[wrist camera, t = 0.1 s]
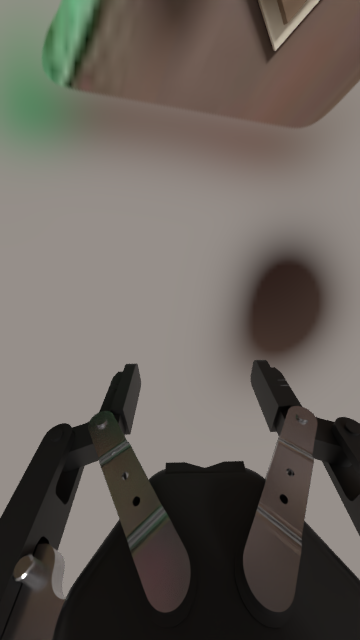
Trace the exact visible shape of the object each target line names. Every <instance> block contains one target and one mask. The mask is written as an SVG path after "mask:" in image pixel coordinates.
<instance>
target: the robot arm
mask: <svg viewBox="0 0 360 640" xmlns="http://www.w3.org/2000/svg"><path fill="white" fill-rule="evenodd" d="M251 384H252V387H253V390H254V392H255V395H256V397H257V400H258V402H259V405H260V407H261V410H262V412H263V415H264V417H265V419H266V422H267V424H268V427H269V429H270V432H277V433H278V435H279V438H278V441H277V444H276V447H275V450H274V453H273V456H272V460H271V463H270V465H269V468H268V472H267V474H266V477H265V479H264V478H263V477H262V476H260V475H259V474H258V473H256V472H254V471H252V470H250V469H247V468H245V466H244V462H243V461H235V462H222V463H219V464H216V465H213V466H210V467H207V468H203V467H199V466H195V465H192V464H188V463H185V462H184V463H166V469H164V470H162V471H160V472H158V473H156V474H155V475H153V476H152V477H151V478H150V479H149V480H148V478H147V476H146V474H145V472H144V470H143V468H142V466H141V464H140V462H139V461H138V459H137V457H136V455H135V453H134V451H133V449H132V447H131V445H130V444H129V442H127V440H126V438H125V436H124V435H125V434H130V433H131V428H132V424H133V419H134V415H135V410H136V406H137V401H138V397H139V392H140V387H141V379H140V374H139V369H138V365H137V364H126V365H125V368H124V371H123V372H118V373H117V374H116V375H115V376H114V377H113V379H112V381H111V385H110V387H109V389H108V392H107V394H106V397H105V399H104V402H103V404H102V407H101V409H100V412H99V413H97V414H96V415H95V416H93V417H92V418H91V420H90V421H89V422H88V423H85V424H83V425H79V426H76V427H73V428H72V427H71V426H70V425H69V424H66V423H64V424H59V425H57V426H55V427H53V428H52V429H50V430H49V431H48V432H47V433H46V435H45V436H44V438H43V440H42V442H41V444H40V445H39V447H38V449H37V451H36V453H35V455H34V457H33V458H32V460H31V462H30V464H29V466H28V468H27V470H26V471H25V473H24V475H23V477H22V479H21V481H20V483H19V485H18V486H17V488H16V490H15V492H14V494H13V496H12V497H11V500H10V501H9V503H8V505H7V507H6V509H5V511H4V512H3V514H2V516H1V518H0V640H360V580H359V579H358V578H357V577H356V576H355V574H354V573H353V572H352V571H351V570H350V569H349V568H348V567H347V566H346V565H345V564H344V563H343V562H342V561H341V559H340V558H339V557H338V556H337V555H336V554H335V553H334V552H333V551H332V550H331V549H330V548H329V547H328V545H327V544H326V543H325V542H324V541H323V540H322V539H321V538H320V537H319V536H318V535H317V534H316V533H315V532H314V531H313V529H311V527H310V526H309V525H308V524H307V523H306V522H305V521H304V519H305V513H306V506H307V500H308V494H309V488H310V481H311V475H312V469H313V463H314V458H315V459H318V460H321V461H322V462H323V464H324V466H325V468H326V470H327V472H328V474H329V476H330V478H331V480H332V482H333V484H334V486H335V488H336V490H337V492H338V494H339V496H340V498H341V500H342V502H343V504H344V506H345V508H346V510H347V512H348V514H349V516H350V517H351V520H352V522H353V523H354V526H355V527H356V530H357V531H358V533H359V535H360V424H359V423H358V422H356V421H354V420H352V419H350V418H346V417H340V418H337V419H336V421H335V422H332V421H328V420H324V419H320V418H317V417H315V416H314V414H313V413H312V412H310V411H309V410H308V409H306V408H303V407H302V406H301V404H300V402H299V401H298V399H297V398H296V396H295V394H294V393H293V391H292V390H291V388H290V386H289V384H288V383H287V381H285V378H284V376H283V375H282V373H281V372H280V371H278V370H277V369H276V368H275V367H274V368H271V367H270V365H269V364H268V362H267V361H266V360H255V361H254V362H253V367H252V373H251ZM98 460H99V461H100V466H101V468H102V471H103V474H104V477H105V480H106V482H107V485H108V488H109V491H110V494H111V496H112V499H113V502H114V505H115V508H116V510H117V513H118V516H119V521H118V522H117V524H116V525H115V527H114V528H113V529H112V531H111V532H110V533H109V535H108V536H107V538H106V539H105V540H104V542H103V543H102V545H101V546H100V547H99V549H98V550H97V552H96V553H95V554H94V556H93V557H92V559H91V560H90V562H89V563H88V564H87V566H86V567H85V568H84V570H83V571H82V573H81V574H80V576H79V577H78V578H77V580H76V581H75V583H74V584H73V586H72V587H71V589H70V591H69V593H68V595H67V597H66V599H65V598H64V595H63V592H62V580H63V574H64V566H65V565H64V559H63V556H62V555H61V554H60V553H59V552H58V551H57V550H58V547H59V544H60V541H61V538H62V535H63V532H64V528H65V525H66V522H67V519H68V516H69V513H70V510H71V507H72V503H73V500H74V497H75V493H76V491H77V488H78V485H79V481H80V478H81V475H82V472H83V469H84V466H85V465H87V464H90V463H92V462H95V461H98Z"/></svg>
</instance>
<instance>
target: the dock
mask: <svg viewBox="0 0 360 640" xmlns="http://www.w3.org/2000/svg"><path fill="white" fill-rule="evenodd" d="M319 1H320V0H258V3H259V6H260V9H261V12H262V15H263V19H264V22H265V25H266V28H267V31H268V34H269V37H270V41H271V44H272V47H273V50H274V51H276V50H277V49H278V48H279V46H280V45H281V44H282V43H283V42H284V41H285V40H286V38H287V37H288V36H289V35H290V34H291V33H292V32H293V30H294V29H295V28H296V27H297V26H298V25H299V23H300V22H301V21H302V20H303V19H304V18H305V17H306V15H307V14H308V13H309V12H310V11H311V10H312V9H313V7H314V6H315V5H316V4H317V3H318V2H319Z"/></svg>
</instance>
